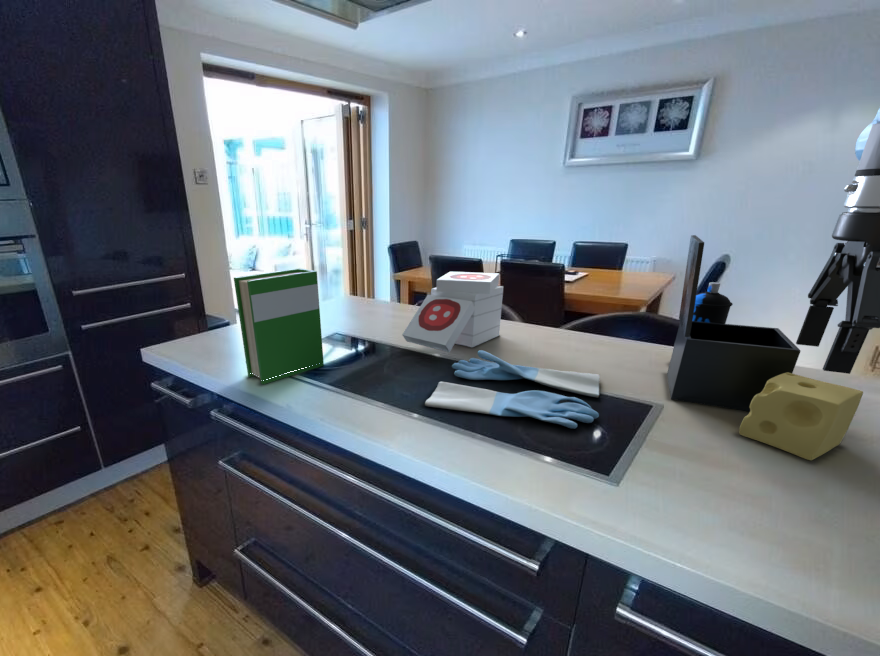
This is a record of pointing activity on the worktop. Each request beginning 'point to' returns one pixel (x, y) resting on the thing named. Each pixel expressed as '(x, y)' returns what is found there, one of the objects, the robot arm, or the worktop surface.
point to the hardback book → (280, 322)
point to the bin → (727, 363)
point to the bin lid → (691, 283)
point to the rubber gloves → (521, 403)
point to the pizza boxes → (458, 312)
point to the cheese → (801, 415)
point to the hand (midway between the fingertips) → (820, 357)
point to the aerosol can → (711, 306)
